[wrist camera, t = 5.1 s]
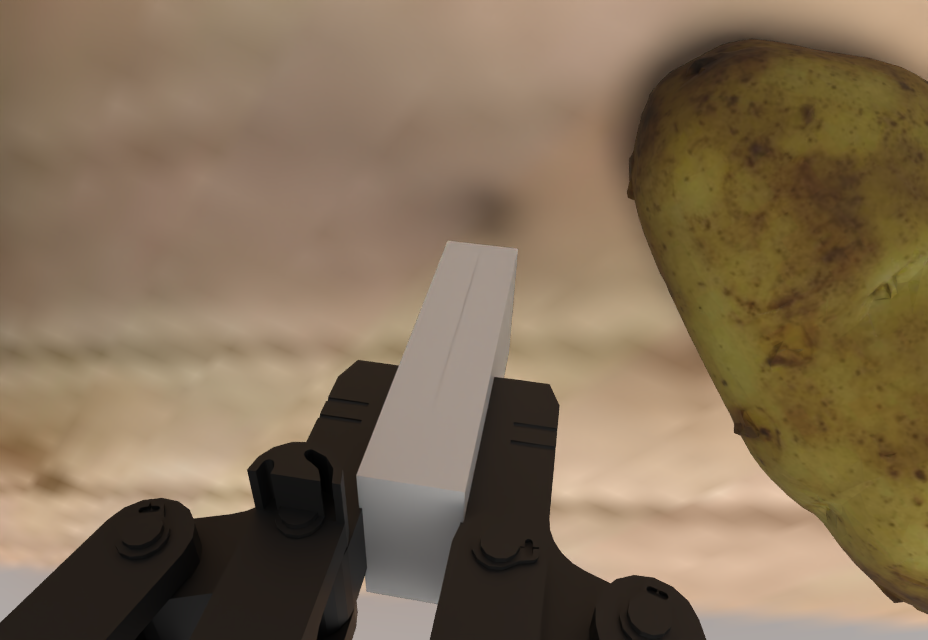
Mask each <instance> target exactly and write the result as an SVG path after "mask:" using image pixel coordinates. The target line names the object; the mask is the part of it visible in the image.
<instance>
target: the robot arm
mask: <svg viewBox="0 0 928 640" xmlns="http://www.w3.org/2000/svg"><path fill="white" fill-rule="evenodd" d="M517 256H518V249H517V248H508V247H500V246H491V245H482V244H473V243H464V242H456V241H447V243H446V246H445V248H444V251H443V253H442V256H441V259H440V261H439V264H438V266H437V269H436V272H435V274H434V277H433V279H432V282H431V284H430V287H429V290H428V292H427V295H426V297H425V300H424V302H423V305H422V308H421V310H420V313H419V315H418V318H417V320H416V323H415V326H414V328H413V331H412V333H411V336H410V338H409V341H408V344H407V346H406V349H405V351H404V354H403V357H402V359H401V362H400V364H399V366H398V365H391V364H384V363H376V362H369V361H362V360H357V361H356V362H355V363H354V364H353V365H351V366H350V367H349V368H348V369H347V370H346V371H344V372H343V373H342V374H341V375H340V376H338V378H337V380H336V382H335V384H334V386H333V388H332V391H331V393H330V395H329V397H328V401H326V403H325V405H324V407H323V409H322V411H321V413H320V418H318V419H317V421H316V423H315V425H314V427H313V429H312V431H311V434H310V436H309V438H308V440H307V442H291V443H287V444H283V445H280V446H276V447H273V448H272V449H270V450H268V451H267V452H265V453H264V454H262V455H260V456H259V457H258V458H257V459H256V460H255V461H254V462H253V464H252V465H251V466H250V467H249V468H248V469H247V471H248V476H249V480H250V485H251V489H252V494H253V498H254V503H255V508H253V509H250V510H248V511H244V512H240V513H235V514H229V515H221V516H212V517H204V518H196V519H193V517H192V514H191V512H190V510H189V509H188V508H186V507H185V506H184V505H182V504H181V503H180V502H178V501H174V500H169V499H164V498H158V499H149V500H142V501H140V502H137V503H135V504H132V505H130V506H127V507H125V508H123V509H122V510H120V511H119V512H118V513H116V514H115V515H113V516H112V517H111V518H109V519H108V520H107V521H106V522H105V523H104V524H103V525H102V526H101V527H100V528H98V529H97V530H96V531H95V532H94V533H93V534H92V535H91V536H90V537H89V538H88V539H87V540H86V541H85V542H84V543H83V544H82V545H81V546H80V547H79V548H78V549H77V550H76V551H74V552H73V553H72V554H71V555H70V556H69V557H68V558H67V559H66V560H65V561H64V562H63V563H62V564H61V565H60V566H59V567H58V568H57V569H56V570H55V571H54V572H53V573H52V574H50V575H49V576H48V577H47V578H46V579H45V580H44V581H43V582H42V583H41V584H40V585H39V586H38V587H37V588H36V589H35V590H34V591H33V592H32V593H31V594H30V595H29V596H27V597H26V598H25V599H24V600H23V602H21V603H20V604H19V605H18V606H17V607H16V608H15V609H14V610H13V611H12V612H11V613H10V614H9V615H8V616H7V617H6V618H5V619H4V620H2V621H1V622H0V640H352V638H353V635H354V632H355V629H356V622H357V613H358V611H357V602H356V600H357V598H358V595H359V592H360V589H361V585H362V582H363V579H364V576H365V580H366V591H367V592H371V593H377V594H383V595H388V596H394V597H400V598H405V599H411V600H417V601H422V602H428V603H434V604H438V606H437V610H436V615H435V619H434V623H433V628H432V632H431V637H430V640H706V638H705V635H704V632H703V629H702V627H701V624H700V621H699V619H698V617H697V615H696V613H695V612H694V610H693V608H692V606H691V605H690V603H689V601H688V600H687V599H686V598H685V597H683V596H682V595H681V594H680V593H679V592H678V591H677V590H676V589H675V588H673V587H672V586H670V585H668V584H666V583H664V582H662V581H659V580H657V579H655V578H652V577H644V576H637V575H632V576H628V577H624V578H619V579H616V580H615V581H613V582H612V583H609V582H607V581H605V580H602V579H600V578H598V577H596V576H594V575H592V574H590V573H588V572H586V571H584V570H583V569H581V568H579V567H578V566H576V565H575V564H573V563H572V562H571V561H570V560H569V559H567V558H566V557H565V556H564V555H563V554H562V553H561V551H560V550H559V548H558V547H557V545H556V544H555V542H554V540H553V537H552V534H551V531H550V522H549V515H550V504H551V493H552V482H553V471H554V460H555V448H556V438H557V427H558V416H559V404H558V401H557V399H556V397H555V395H554V393H553V391H552V389H551V386H550V384H544V383H536V382H529V381H522V380H514V379H507V378H504V375H505V370H506V364H507V359H508V354H509V347H510V335H511V324H512V313H513V301H514V290H515V279H516V267H517Z"/></svg>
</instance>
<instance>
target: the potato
mask: <svg viewBox="0 0 928 640" xmlns="http://www.w3.org/2000/svg"><path fill="white" fill-rule="evenodd" d="M629 181H630V182H629V186H628V190H627V195H628V198H630V199H633V200H635V203H636V208H637V212H638V216H639V219H640V222H641V225H642V228H643V231H644V234H645V237H646V239H647V242H648V245H649V247H650V250H651V252H652V255H653V257H654V260H655V262H656V265H657V267H658V269H659V272H660V274H661V276H662V277H663V279H664V281H665V283H666V285H667V288H668V290H669V292H670V295H671V297H672V299H673V301H674V303H675V305H676V307H677V309H678V311H679V313H680V316H681V318H682V320H683V322H684V324H685V326H686V328H687V331H688V333H689V335H690V337H691V339H692V341H693V343H694V345H695V347H696V349H697V351H698V353H699V355H700V357H701V359H702V361H703V363H704V365H705V367H706V369H707V371H708V373H709V375H710V377H711V379H712V381H713V383H714V385H715V386H716V388H717V390H718V392H719V394H720V396H721V398H722V400H723V402H724V404H725V406H726V408H727V409H728V411H729V413H730V415H731V417H732V420H733V422H734V433H735V434H738V435H741V437H742V439H743V441H744V442H745V444H746V446H747V448H748V449H749V451H750V453H751V455H752V456H753V457H754V459H755V460H756V462H757V463H758V464H759V466H760V467H761V468H762V469H763V471H764V472H765V473H766V474H767V475H768V476H769V477H770V478H771V479H772V480H773V481H774V482H775V483H776V484H777V485H778V486H779V487H780V488H781V489H782V490H783V491H784V492H785V493H786V494H787V495H788V496H789V497H790V498H792V499H793V500H794V501H795V502H797V503H798V504H799V505H800V506H802V507H803V508H804V509H806V510H808V511H810V512H811V513H813V514H815V515H816V516H817V517H818V518H819V519H820V520H821V521H822V522H823V523H824V525H825V526H826V527H827V529H828V530H829V531H830V533H831V534H832V536H833V537H834V538H835V540H836V541H837V543H838V544H839V545H840V546H841V548H842V549H843V550H844V551H845V552H846V554H847V555H848V556H849V557H850V558H851V560H852V561H853V562H854V563H855V564H856V565H857V566H858V567H859V568H860V569H861V570H862V571H863V572H864V573H865V574H866V575H867V576H868V577H869V578H870V579H871V580H873V582H874V583H875V584H876V585H877V586H878V587H879V588H880V589H881V590H882V592H883V593H884V594H885V595H886V596H887V597H889V598H890V599H891V600H892V601H893V602H894V603H898V602H905V603H908V604H910V605H913V606H914V607H915V608H916V609H917V610H919V611H921V612H924V613H926V614H928V82H927V81H926V80H924V79H922V78H921V77H919V76H917V75H916V74H914V73H912V72H910V71H908V70H906V69H904V68H901V67H898V66H895V65H891V64H888V63H885V62H881V61H878V60H874V59H871V58H865V57H859V56H852V55H846V54H839V53H833V52H827V51H821V50H814V49H810V48H805V47H801V46H797V45H792V44H786V43H781V42H775V41H768V40H759V39H747V40H742V41H737V42H731V43H727V44H724V45H721V46H719V47H717V48H715V49H713V50H711V51H709V52H707V53H705V54H703V55H701V56H700V57H698V58H696V59H694V60H692V61H690V62H688V63H687V64H685V65H683V66H681V67H679V68H677V69H675V70H673V71H672V72H670V73H669V74H668V75H667V76H666V77H665V78H664V79H663V80H662V81H661V82H660V83H659V84H658V85H657V86H656V87H655V88H654V90H653V91H652V92H651V94H650V96H649V100H648V102H647V104H646V107H645V109H644V111H643V113H642V116H641V120H640V124H639V128H638V132H637V137H636V142H635V147H634V152H633V153H632V155H631V157H630V158H629Z"/></svg>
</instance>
